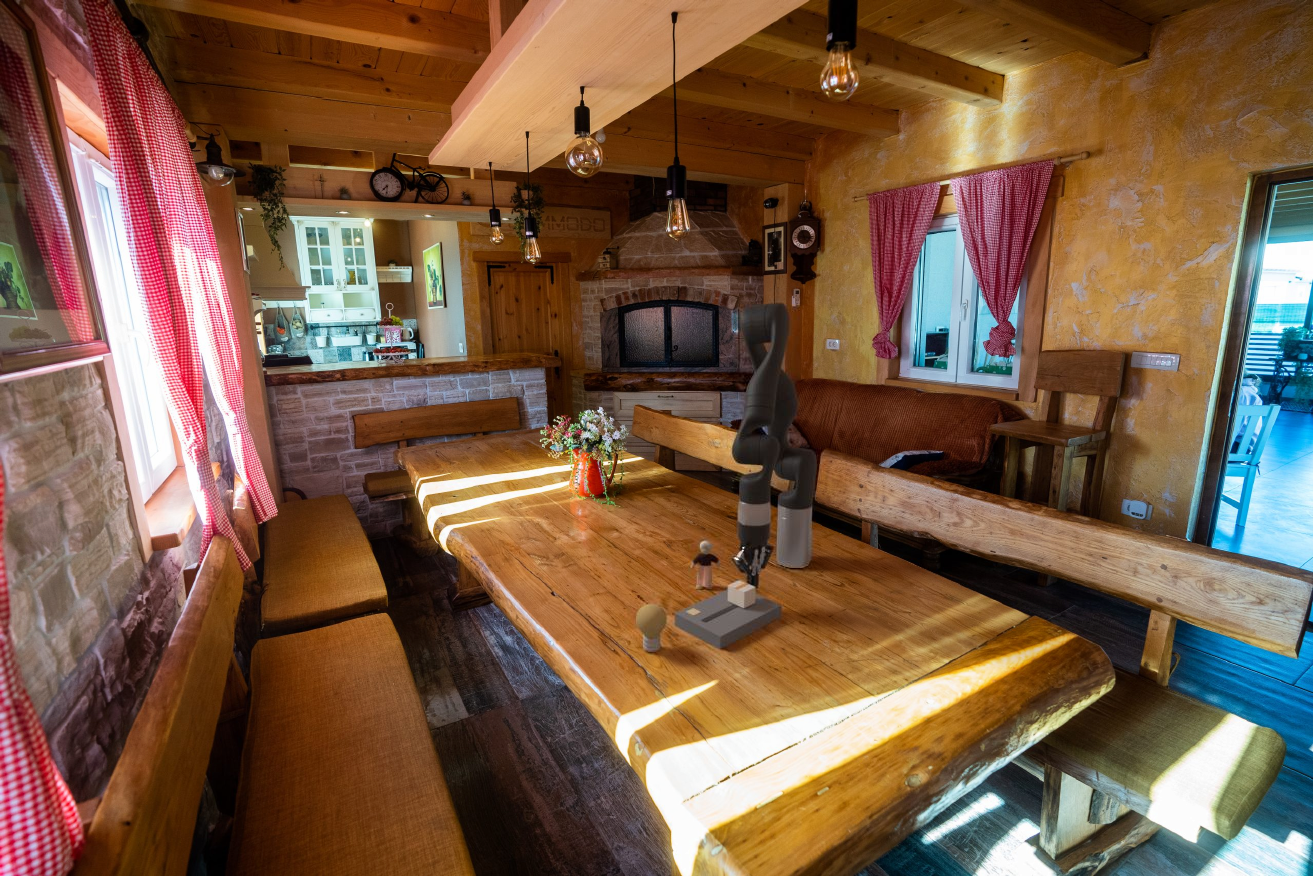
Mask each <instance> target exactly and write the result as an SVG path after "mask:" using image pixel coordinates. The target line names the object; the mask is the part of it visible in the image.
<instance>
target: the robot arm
mask: <svg viewBox="0 0 1313 876" xmlns="http://www.w3.org/2000/svg"><path fill="white" fill-rule="evenodd" d="M790 320H791V319H790V313H789V310H788V308H787V306H786V305H785V304H784V303H783V302H772V303H771V302H770V303H762V304H755V305H749V306H745V307H744V308H742V310H741V312H740V316H739V325H740V331H741V334H742V335H741V336H742V338H743V341H744V344H745V347H746V350H747V353H748V357H749V360H750V362H751V365H752V369H753V375H752V377H751V378H750V380H749V382H748V384H747V387H746V390H745V396H744V407H743V415H742V419H741V422H740V426H739V429H738V430H737V433H736V435H735V436H734V437H735V438H734V440H733V442H732V446H731V455H732V458H733V459H734V462H735V463H737V464H738V465H747V466H762V468H761V470H759V471H755V472H751V473H750V472H749V473H746V474H743V475H742V476H741V477H740V478H739V487H738V488H739V492H738V493H739V494H738V495H739V497H738V499H739V501H738V506H737V538H738V539H739V541H740V543H739V547H738V551H739V552H738V553H737V555H733V556H732V557H731V561H732V562H733V564H734V565H735V566H736V569H737V570H738V571H739V572H740V573H741V574H745V575H746V582H745V583H748V584H750V585H752V586H754V587H756V590H757V589H759V582H760V574H761V572H762V570H765V569H766V567H767V565H768V563H769V560H770V558H771V556H772V554H773V552H774V549H775V548H774V545H770V544H768V541H769V540H770V538H771V516H772V515H771V514H772V513H771V509H772V508H771V483H772V477H773V474H774V473H775V476H777V478H780V479H782V480H786V481H792V482H795V483H796V484H795V489H793V488H792V489H789V490H784V491H782V492H780V493H779V495H778V498H777V500H778V501H777V528H776V530H777V532H776V534H777V535H776V560H775V562H776V561H777V562H776V564H777V563H778V564H780V565H783V566H786V567H794V568H795V567H796V568H797V567H803V566H806V565H808V564H809V563H811V562H810V560H811V561H812V558H813V557H812V555H813V554H812V553H813V529H812V519H813V518H812V517H813V500H814V496H815V489H816V487H815V486H816V476H817V467H818V460H817V455H816V453H815V451H814V450H812V449H808V448H803V447H802V448H801V447H795V446H791V445H790V443H789V439H788V438H789V437H788V432H789V429H790V428H791V426H792V423H793V421H794V420H795V418H796V416H797V414H798V410H799V400H798V397H797V395H798V394H797V390H796V387H795V383H794V381H793V380H792V378H791V377H790V376H789V374H787V372H785V370H784V369H783V368H782V365H783V361H784V358H785V355H786V354H785V352H786V349H787V343H788V339H789V335H790V325H791V323H790V322H791V321H790ZM767 343H768V344H769V343H770V345H769V347H768V349H767V348H766V345H765V344H767ZM764 427H765V428H766V429H767V433H768V434H757V433H753V431H755V430H757V429H760V428H764ZM780 565H779V566H780Z"/></svg>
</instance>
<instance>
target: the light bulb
mask: <svg viewBox="0 0 1313 876" xmlns="http://www.w3.org/2000/svg"><path fill="white" fill-rule="evenodd" d="M635 619H636V622H635V623H636V626H637V627H638V629H639V631H640V632H641V633H642V634H643V635H642V648H643V649H644V650H645V651H646V652H649V653H655V652H657V651H658V650H660V649H661V638H662V637H661V633H662V632H663V630H664V629H665V628H666V625H667V621H668V620H667V619H668V617H667V613H666V611H665V609H664V608H663V607H662V606H660V605H658V604H656V603H648V604H645V605H642V606H641V607H640V608H639V610H638V611H637V613H636V617H635Z"/></svg>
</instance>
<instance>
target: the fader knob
mask: <svg viewBox="0 0 1313 876" xmlns="http://www.w3.org/2000/svg"><path fill="white" fill-rule="evenodd" d="M727 590H728V601H729V602H731V603H733V604H735V605H738V606H740V607H742V608H746V607H748V606H750V605H752V604H754V603H755V594H756V590H757V589H756V587H754V586H752V585H750V584H748V583H747V582H744V581H743V580H740V579H739V580H737V581H735V582H732V583H730V584H727Z"/></svg>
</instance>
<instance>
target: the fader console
mask: <svg viewBox="0 0 1313 876" xmlns="http://www.w3.org/2000/svg"><path fill="white" fill-rule="evenodd" d="M782 612H783V611H782V604H780V603H778V602H776V601H773V600H771V599H768V598H766V597H764V596H762V595H759V594H757V593H755V603H754V604H752V605H750V606H748V607H746V608H742V607H740V606H738V605H735V604H733V603H731V602H729V601H728V589H726V590H723V591H721V592H719V593H717V594H715V595H712V596H711V597H708V598H705V599H703V600H701V601H699V602H696V603H695V604H692V605H690V606H688V607H686V608H683V609H681V610H679V611H677V612H675V613H674V626H675V627H677V628H679V629H681V630H683V631H685V632H687V633H688V634H690V635H692V636H694V637H696V638H698V639H700V640H702V641H703V642H705V643H707V644H709V645H710V646H713V647H715V648H717V649H718V650H722V649H724V648H726V647H727V646H729V645H731V644H733V643H735V642H737V641H739V640H740V639H742V638H745V637H747V636H748V635H750V634H752V633H754V632H756V631H758V630H760V629H761V628H763V627H766V626H767V625H769V624H771V623H773V622H775V621H776V620H778V619H780V618H782ZM779 617H780V618H779ZM777 618H778V619H777ZM774 620H775V621H774ZM772 621H773V622H772ZM770 622H771V623H770ZM768 623H769V624H768ZM766 624H767V625H766ZM759 628H760V629H759ZM757 629H758V630H757ZM744 636H745V637H744Z"/></svg>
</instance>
